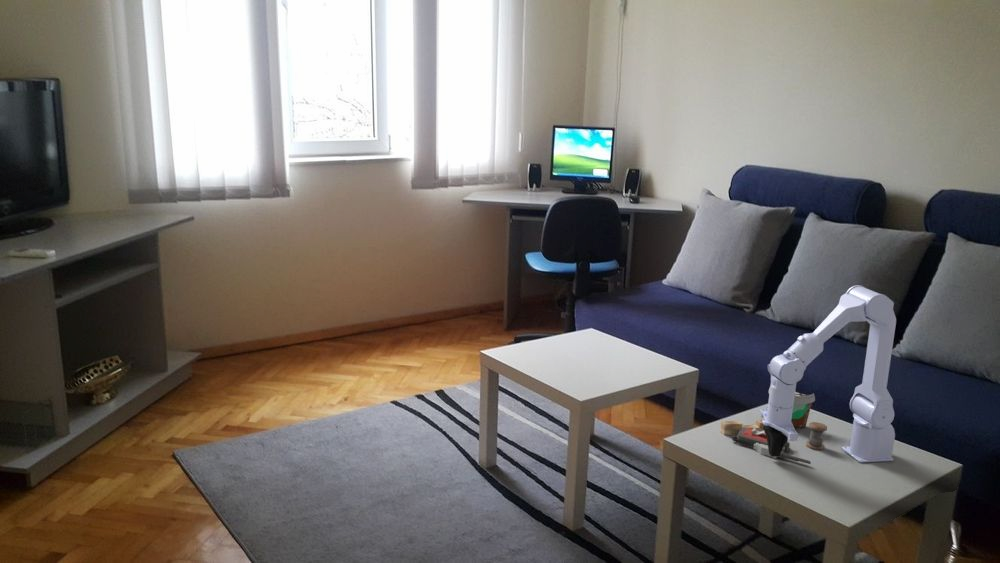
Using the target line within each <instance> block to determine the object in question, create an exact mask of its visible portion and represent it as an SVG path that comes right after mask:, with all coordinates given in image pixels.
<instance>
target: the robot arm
mask: <svg viewBox="0 0 1000 563" xmlns="http://www.w3.org/2000/svg"><path fill="white" fill-rule="evenodd" d="M894 305H895V302H894V301H893V300H891V299H890V298H889V297H888V296H887V295H885V294H884V293H883V294H882V293H879V292H876V291H875V290H871V289H869V288H867V287H865V286H863V285H859V284H857V285H852V286H851V287H850V288H848V289H847V291H846V292H845V293H844V294H842V295H841V296H840V298H839V302H838V304H837V306H835V308H833V310H832V311H831V312H830V313H829V314H828V315H827V317H825V319H823V321H822V322H821V323H820V324H819V325H818V326H817V327H816V328H815V330H814V331H813V332H810V333H803V334H802V335H800V336H798V337H797V339H796V341H795V342H794V343H793V344H792V345H791V346H790V347H788V348H787V350H785V351H784V352H783V353H782V354H779V355H776V356H773V358H772V359H771V360H770V362H769V364H767V371H768V372H769V375H770V386H769V388H770V394H769V393H768V394H769V395H768V404H767V408H760V409H759V410H760V412H759V417H760V418H762V419H761V420H762V423H763V424H764V425H765V426H763V430H764V432H765V434H766V438H767V442H768V450H769V454H770V455H771V456H772V457H771V458H773V457H774V456H779V455H780V453H781V451H782V449H783V447H784V445H785V443H786V441H787V440H788V442H797V441H798V437H799V433H798V431H796V429H794V426H793V424H792V422H791V419H792V412H793V404H794V396H795V391H796V388H797V383H798V382H800V381H801V380H802V379H803V376H804V372H805V370H806V369H807V367H808V366H809V365H810V363H812V362H813V360H815V359H816V358H817V357H819V355H820V354H822V352H824V343H825V342H827V341H828V340H829V339H830V338H832V337H833V336H834V335H835V334H837V333H838V332H839V331H840V330H841V329H842V328H844V327H846V325H847V324H849V323H851V322H867V323H868V324H869V330H868V331H869V333H868V339H867V346H866V354H865V360H864V368H863V376H862V380H861V382H862V383H860V384H859V385H857V386H856V387H855V388H854V391H853V392H854V393H853V394H852V395H853V396H852V397H851V398H850V401H849V409H850V411H851V412H852V413H853V414H852V417H853V418H854V419H853V422H852V428H851V435H850V436H851V437H850V443H849V445H848V446H841V449H842V450H843V451H844V452H845V453H847V454H848V455H849V456H851V457H852V458H853V459H855V460H856V461H857V462H858V463H875V462H877V463H878V462H892V461H894V458H893V456H892V455H893V452H894V445H895V438H896V433H895V432H896V431H895V428H894V427H893V425H892V424H891V423H893V421H894V418H895V410H894V406H893V404H894V400H893V398H892V396H891V394H890V392H889V390H888V388H887V386H888V380H889V372H890V368H891V359H892V353H893V347H894V338H895V333H896V332H895V331H896V325H897V317H896V314H895V311H894ZM763 419H764V420H763Z"/></svg>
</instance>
